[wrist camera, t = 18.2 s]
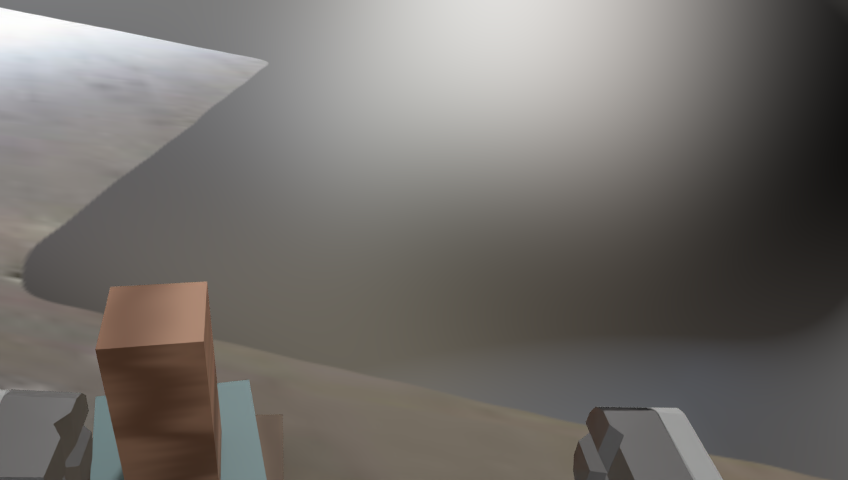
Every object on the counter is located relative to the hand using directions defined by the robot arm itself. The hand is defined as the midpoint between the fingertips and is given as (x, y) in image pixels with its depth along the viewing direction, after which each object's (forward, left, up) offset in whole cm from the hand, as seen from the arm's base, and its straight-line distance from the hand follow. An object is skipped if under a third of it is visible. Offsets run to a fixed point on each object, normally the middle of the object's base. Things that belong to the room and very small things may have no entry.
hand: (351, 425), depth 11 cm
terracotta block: (+7, -22, -27) cm, 36 cm away
